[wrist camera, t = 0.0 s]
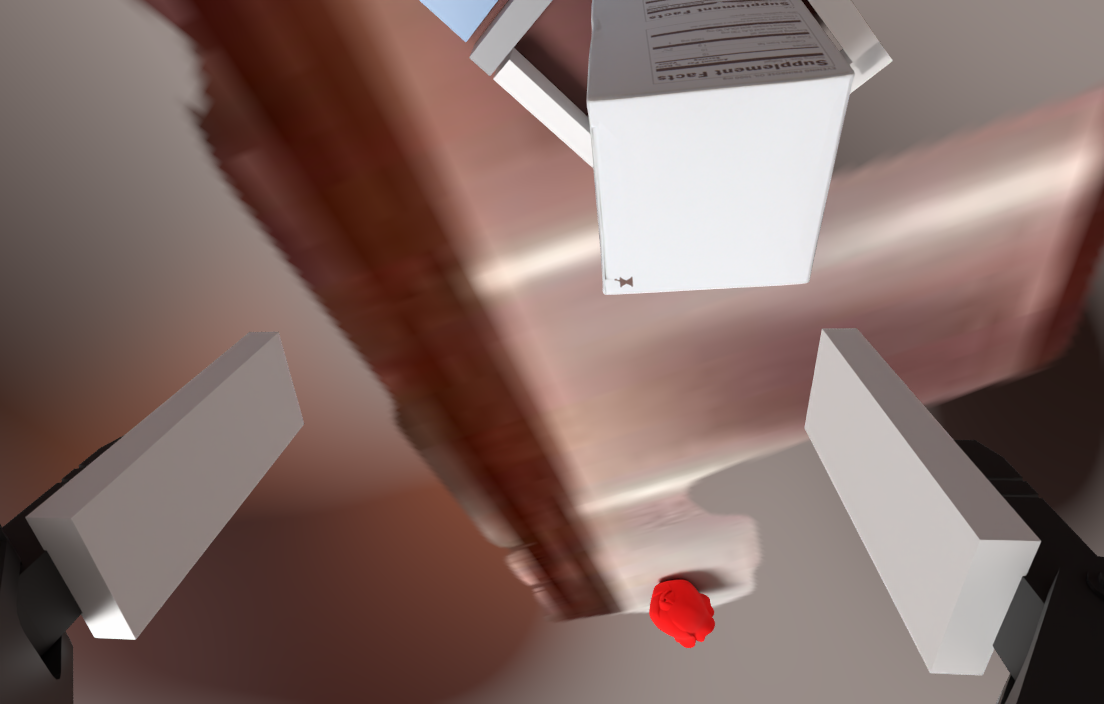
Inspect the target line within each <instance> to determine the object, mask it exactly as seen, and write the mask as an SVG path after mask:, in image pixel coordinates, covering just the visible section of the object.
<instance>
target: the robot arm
mask: <svg viewBox="0 0 1104 704" xmlns="http://www.w3.org/2000/svg"><path fill="white" fill-rule="evenodd" d="M303 425H304V422H303V418H302V415H301V411H300V407H299V404H298V400H297V397H296V393H295V389H294V386H293V382H292V379H291V375H290V371H289V368H288V364H287V360H286V357H285V354H284V350H283V346H282V342H281V339H280V335H279V332H249V333H248V334H247V335H246V336H244V337H243V338H242V339H241V340H239V341H238V342H237V343H236V344H235V345H234V346H232V347H231V348H230V349H229V350H227V351H226V352H225V353H224V354H222V355H221V356H220V357H219V358H218V359H216V360H215V361H214V362H213V363H212V364H210V365H209V366H208V367H207V368H206V369H204V370H203V371H202V372H201V373H199V375H197V376H196V377H195V378H193V379H192V380H191V381H190V382H189V383H187V384H186V385H185V386H184V387H183V388H181V389H180V390H179V391H178V392H177V393H175V394H174V395H173V396H172V397H170V398H169V399H168V400H167V401H166V402H165V403H163V404H162V405H161V406H159V407H158V408H157V409H156V410H155V411H153V412H152V413H151V414H150V415H149V416H147V417H146V418H145V419H144V420H143V421H141V422H140V423H139V424H138V425H136V426H135V427H134V428H133V429H132V430H130V431H129V432H128V433H127V434H126V435H124V436H122V437H120V438H118V439H116V440H115V441H113V442H111V443H109V444H107V445H105V446H103V447H101V448H100V449H98V450H97V451H96V452H95V453H94V454H92V455H91V456H90V457H88V458H87V459H86V460H85V461H84V462H82V463H81V464H80V465H79V468H78V469H74V470H72V471H71V472H70V473H69V474H68V475H66V476H65V477H64V478H63V479H62V482H61V483H57V484H55V485H54V486H53V487H52V488H51V489H49V490H48V491H47V492H45V493H44V494H43V495H42V496H41V497H39V498H38V499H37V500H36V501H34V502H33V503H32V504H31V505H29V506H28V507H27V508H26V509H24V510H23V511H22V512H21V513H20V514H18V515H17V516H16V517H15V518H14V519H12V520H11V521H10V522H9V523H7V524H6V525H5V526H3V527H1V525H0V704H73V646H72V643H71V641H70V639H69V637H68V635H67V633H66V632H65V631H66V630H67V629H68V628H69V627H70V625H71V624H72V623H73V622H74V621H75V620H76V619H77V618H78V617H79V616H80V615H82V616H83V618H84V620H85V622H86V623H87V625H88V627H89V629H90V630H91V632H92V634H93V635H94V637H95V638H114V639H136V638H137V637H138V636H139V635H140V633H141V632H142V631H143V629H144V628H145V627H146V625H147V624H148V623H149V622H150V620H151V619H152V618H153V617H154V615H155V614H156V613H157V611H158V610H159V609H160V608H161V606H162V605H163V604H164V602H165V601H166V600H167V599H168V598H169V596H170V595H171V594H172V592H173V591H174V590H175V588H176V587H177V586H178V585H179V583H180V582H181V581H182V580H183V578H184V577H185V576H186V574H187V573H188V572H189V571H190V569H191V568H192V567H193V566H194V564H195V563H196V562H197V560H198V559H199V558H200V556H201V555H202V554H203V553H204V551H205V550H206V549H207V547H208V546H209V545H210V544H211V542H212V541H213V540H214V538H215V537H216V536H217V535H218V533H219V532H220V531H221V530H222V528H223V527H224V526H225V525H226V523H227V522H228V521H229V519H230V518H231V517H232V516H233V514H234V513H235V512H236V510H237V509H238V508H239V507H240V505H241V504H242V503H243V501H244V500H245V499H246V498H247V496H248V495H249V494H250V493H251V491H252V490H253V489H254V487H255V486H256V485H257V483H258V482H259V481H260V480H261V478H262V477H263V476H264V475H265V473H266V472H267V471H268V469H269V468H270V467H271V466H272V464H273V463H274V462H275V461H276V459H277V458H278V457H279V455H280V454H281V453H282V451H283V450H284V449H285V448H286V446H287V445H288V444H289V442H290V441H291V440H292V439H293V437H294V436H295V435H296V434H297V432H298V431H299V430H300V429H301V427H302V426H303ZM805 430H806V432H807V434H808V436H809V438H810V440H811V442H812V443H813V445H814V447H815V449H816V451H817V453H818V455H819V457H820V459H821V461H822V463H823V465H824V467H825V469H826V471H827V473H828V475H829V477H830V478H831V481H832V483H833V485H834V486H835V488H836V490H837V492H838V494H839V496H840V498H841V500H842V502H843V504H844V506H845V508H846V510H847V512H848V514H849V516H850V518H851V520H852V522H853V524H854V525H855V527H856V529H857V531H858V533H859V535H860V537H861V539H862V541H863V543H864V545H865V547H866V549H867V551H868V553H869V555H870V557H871V559H872V561H873V563H874V565H875V567H876V568H877V570H878V572H879V574H880V576H881V578H882V580H883V582H884V584H885V586H886V588H887V590H888V592H889V594H890V596H891V598H892V600H893V601H894V604H895V606H896V607H897V609H898V611H899V613H900V615H901V617H902V619H903V621H904V623H905V625H906V627H907V629H908V631H909V633H910V635H911V637H912V639H913V641H914V643H915V645H916V647H917V648H918V650H919V652H920V654H921V656H922V658H923V660H924V662H925V664H926V666H927V668H928V670H929V672H930V673H942V674H965V675H983V673H984V671H985V668H986V666H987V664H988V661H989V659H990V657H991V655H992V652H993V650H994V649H995V650H996V652H997V653H998V655H999V656H1000V658H1001V659H1002V661H1003V663H1004V664H1005V666H1006V667H1007V669H1008V671H1009V672H1010V675H1009V677H1008V679H1007V681H1006V684H1005V686H1004V688H1003V690H1002V692H1001V694H1000V696H999V698H998V701H997V703H996V704H1104V557H1100V556H1097V555H1096V554H1095V553H1094V552H1093V551H1092V550H1091V549H1090V548H1089V547H1088V546H1087V545H1086V544H1085V543H1084V542H1083V541H1082V539H1081V538H1080V537H1079V536H1078V535H1077V534H1076V533H1075V532H1074V531H1073V530H1072V529H1071V528H1070V527H1069V526H1068V525H1067V524H1066V523H1065V522H1064V521H1063V520H1062V519H1061V517H1060V516H1059V515H1058V514H1057V513H1056V512H1055V511H1054V510H1053V509H1052V508H1051V507H1050V506H1049V505H1048V504H1047V503H1046V502H1045V501H1044V500H1043V498H1039V497H1038V493H1037V492H1036V491H1035V490H1034V489H1033V488H1032V487H1031V486H1030V485H1029V484H1028V483H1027V482H1026V481H1023V480H1022V476H1021V475H1020V474H1019V473H1018V472H1017V471H1016V470H1015V469H1014V468H1013V467H1012V466H1011V465H1010V464H1009V463H1008V462H1007V461H1006V460H1005V458H1003V457H1002V456H1000V455H999V454H997V453H995V452H994V451H992V450H991V449H989V448H987V447H985V446H984V445H982V444H981V443H979V442H977V441H976V440H953V439H952V438H951V437H950V435H949V434H948V433H947V432H946V431H945V430H944V429H943V427H942V426H941V425H940V424H939V423H938V422H937V420H936V419H935V418H934V417H933V416H932V415H931V414H930V412H929V411H928V410H927V409H926V408H925V407H924V405H923V404H922V403H921V402H920V401H919V400H918V399H917V397H916V396H915V395H914V394H913V393H912V392H911V390H910V389H909V388H908V387H907V386H906V385H905V384H904V382H903V381H902V380H901V379H900V378H899V377H898V375H897V374H896V373H895V372H894V371H893V370H892V369H891V367H890V366H889V365H888V364H887V363H886V362H885V360H884V359H883V358H882V357H881V356H880V355H879V354H878V352H877V351H876V350H875V349H874V348H873V347H872V346H871V344H870V343H869V342H868V341H867V340H866V339H865V337H864V336H863V335H862V334H861V333H860V332H859V331H858V329H857V328H850V329H822V332H821V338H820V344H819V349H818V355H817V361H816V366H815V372H814V377H813V383H812V389H811V394H810V400H809V406H808V411H807V417H806V423H805Z"/></svg>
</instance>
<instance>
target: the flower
mask: <svg viewBox="0 0 1104 704" xmlns="http://www.w3.org/2000/svg"><path fill="white" fill-rule="evenodd" d="M649 614H650V618H651V619H652V621H653V622H654V624H655V625H656V626H657V627H658V628H659V629H660V630H662V631H663V632H665V633H666V634H668V635H670V636H673V637H674V638H675V640H676V641H677V642H679V643H680V644H681V645H682V646H684V647H686V648H691V647H694V646H695V642H696V640H697V641H700V642H702V641H704V639H705V636H706V635H708V634H709V633H711V632H712V631H713V629H714V626H715V622H714V619H713V618H712V616H713V615H714V610H713V608H712V607H711V604H710V599H709V597H708V596H706V595H704V594H701V593H699V592H698V591H697V589H696V588H695V587H694V586H693V585H692V584H691V583H690V582H688V581H686V580H670V581H665V582H662V583H659V584H658V585H656V586H655V588H654V590H653V594H652V598H651V603H650V611H649Z"/></svg>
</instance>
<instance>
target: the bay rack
mask: <svg viewBox="0 0 1104 704" xmlns="http://www.w3.org/2000/svg"><path fill="white" fill-rule="evenodd" d="M420 1H421V2H422V3H423V4H424V5H425V6H426V7H427V8H428V9H430V10H431V11H432V12H433V13H434V14H435V15H436V16H437V17H438V18H440V19H441V20H442V21H443V22H444V23H445V24H446V25H447V26H448V27H450V28H451V29H452V30H453V31H454V32H455V33H456V34H457V35H458V36H460V37H461V38H462V39H463V40H464V41H465V42H467V40H468V39H469V38H470V36H471V35H472V34H473V32H474V31H475V30H476V28H477V27H478V26H479V25H480V23H481V22H482V21H483V19H484V18H485V17H486V15H487V14H488V13H489V11H490V10H491V9H492V7H493V6H494V5H495V3H496V2H497V1H498V0H420ZM551 1H552V0H509V1H508V2H507V3H506V4H505V6H504V7H503V8H502V10H501V11H500V12H499V13H498V15H497V16H496V17H495V19H494V20H493V21H492V23H491V24H490V25H489V26H488V28H487V29H486V30H485V32H484V33H483V34H482V36H481V37H480V38H479V39H478V41H477V42H476V43H475V45H474V47H473V49H472V52H471V54H470V57H469V58H470V59H471V60H472V61H473V62H475V63H476V64H477V65H478V66H479V67H480V68H481V69H482V70H484V71H485V72H486V73H487V74H488V75H489V76H490V75H491V74H492V73H493V72H494V71H495V69H496V68H497V69H496V72H495V75H494V80H495V81H496V82H497V83H498V84H499V85H500V86H502V87H503V88H504V89H505V90H506V91H507V92H508V93H509V94H511V95H512V96H513V97H514V98H515V99H516V100H517V101H518V102H520V103H521V104H522V105H523V106H524V107H525V108H526V109H527V110H529V111H530V112H531V113H532V114H533V115H534V116H535V117H536V118H538V119H539V120H540V121H541V122H542V123H543V124H544V125H545V126H547V127H548V128H549V129H550V130H551V131H552V132H553V133H554V134H556V135H557V136H558V137H559V138H560V139H561V140H562V141H563V142H564V143H566V144H567V145H568V146H569V147H570V148H571V149H572V150H573V151H575V152H576V153H577V154H578V155H579V156H580V157H581V158H582V159H584V160H585V161H586V162H587V163H588V164H589V165H590V166H591V167H593V156H592V144H591V134H590V124H589V117H588V116H586V115H585V114H584V113H583V112H582V111H581V110H580V109H579V108H578V107H577V106H576V105H575V104H574V103H573V102H572V101H570V100H569V99H568V98H567V97H566V96H565V95H564V94H563V93H562V92H561V91H560V90H559V89H558V88H557V87H556V86H555V85H553V84H552V83H551V82H550V81H549V80H548V79H547V78H546V77H545V76H544V75H543V74H542V73H541V72H540V71H539V70H537V69H536V68H535V67H534V66H533V65H532V64H531V63H530V62H529V61H528V60H527V59H526V58H525V57H524V56H523V55H521V54H520V53H519V52H518V51H517V50H516V49H515V48H514V46H515V45H516V44H517V43H518V41H519V40H520V39H521V38H522V37H523V35H524V34H525V33H526V32H527V30H528V29H529V28H530V27H531V26H532V24H533V23H534V22H535V21H536V19H537V18H538V17H539V16H540V15H541V13H542V12H543V11H544V10H545V9H546V7H547V6H548V5H549V4H550V2H551ZM808 1H809V3H810V4H811V5H812V7H813V8H814V9H815V11H816V12H817V14H818V15H819V16H820V18H821V19H822V20H823V22H824V23H825V25H826V26H827V27H828V29H829V30H830V32H831V33H832V34H833V36H834V37H835V38H836V40H837V41H838V43H839V44H840V45H841V47H842V48H843V49H842V50H841V51H839V52H840V53H841V54H842V56H843V57H844V59H845V60H846V61H847V62H848V63H849V65H850V66H851V68H852V69H853V70H854V72H855V76H854V79H853V82H852V86H851V91H850V93H852V92H853V91H854V90H855V89H857V88H858V87H859V86H861V85H862V84H863V83H864V82H866V81H867V80H868V79H870V78H871V77H872V76H874V75H875V74H876V73H877V72H879V71H880V70H881V69H883V68H884V67H885V66H887V65H888V64H889V63H891V62H892V59H891V58H890V57H889V55H888V53H887V52H886V51H885V49H884V47H883V46H882V45H881V43H880V42H879V40H878V39H877V37H876V36H875V34H874V33H873V31H872V30H871V28H870V27H869V26H868V24H867V23H866V21H865V20H864V18H863V17H862V15H861V14H860V12H859V11H858V9H857V8H856V6H855V5H854V3H853V2H852V1H851V0H808Z"/></svg>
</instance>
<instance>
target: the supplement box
mask: <svg viewBox="0 0 1104 704" xmlns="http://www.w3.org/2000/svg"><path fill="white" fill-rule="evenodd" d="M591 22H592V39H591V46H590V54H589V67H588V85H587V109H588V116H589V124H590V134H591V144H592V156H593V168H594V180H595V192H596V203H597V215H598V226H599V238H600V250H601V264H602V280H603V293H604V294H606V295H610V294H634V293H653V292H670V291H687V290H704V289H722V288H739V287H758V286H779V285H791V284H803V283H808V282H809V281H810V276H811V271H812V266H813V261H814V257H815V252H816V247H817V243H818V238H819V233H820V228H821V224H822V219H823V214H824V209H825V205H826V200H827V195H828V191H829V186H830V181H831V177H832V172H833V168H834V163H835V159H836V155H837V150H838V145H839V141H840V136H841V131H842V126H843V122H844V118H845V113H846V109H847V104H848V99H849V95H850V91H851V86H852V82H853V79H854V76H855V72H854V70H853V69H852V68H851V66H850V65H849V63H848V62H847V61H846V60H845V59H844V57H843V56H842V54H841V53H840V52H839V50H838V49H837V48H836V46H835V45H834V44H833V42H832V41H831V40H830V38H829V37H828V36H827V35H826V33H825V32H824V30H823V29H822V27H821V26H820V25H819V23H818V22H817V21H816V19H815V18H814V17H813V15H812V14H811V13H810V11H809V10H808V9H807V7H806V6H805V5H804V3H803V2H802V0H592V16H591Z"/></svg>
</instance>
